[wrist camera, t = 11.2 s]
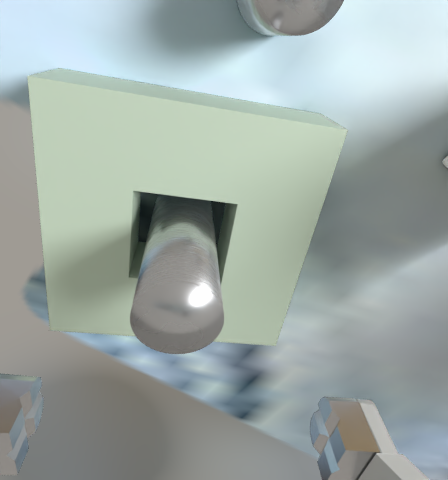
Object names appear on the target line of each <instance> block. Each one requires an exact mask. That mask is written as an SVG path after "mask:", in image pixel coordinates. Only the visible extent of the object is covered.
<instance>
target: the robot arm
mask: <svg viewBox="0 0 448 480" xmlns="http://www.w3.org/2000/svg"><path fill="white" fill-rule="evenodd" d="M41 386H42V382H41V377H32V376H21V375H10V374H0V475H18V473H19V471H20V468H21V466H22V463H23V461H24V459H25V456H26V454H27V452H28V449H29V446H28V438H29V437H30V436H31V435H33V434H34V433H35V432H36V430H37V427H38V425H39V423H40V420H41V415H42V412H43V405H44V398H43V395H42V394H41V393H40V392H39V391H40V389H41ZM318 405H319V408H320V410H318V411H316V412H315V413H314V414H313V416H312V418H311V423H310V434H311V440H312V444H313V447H314V448H315V449H316V450H317V451H318V452H319V453H320V456H319V458H318V461H317V462H318V466H319V470H320V473H321V477H322V480H429V479H428V478H427V477H426V476H425V475H424V474H423V473H422V472H421V471H420V470H419V469H418V468H417V467H416V466H415V465H414V464H413V463H412V462H410V461H409V460H408V459H407V458H406V457H405V456H404V455H403V454H398V452H397V450H396V448H395V446H394V444H393V442H392V439H391V437H390V435H389V433H388V431H387V429H386V427H385V425H384V423H383V420H382V418H381V416H380V414H379V412H378V410H377V408H376V406H375V404H374V403H373V402H372V401H371V400H364V399H353V398H337V397H323V398H321V400H320V402H319V403H318Z"/></svg>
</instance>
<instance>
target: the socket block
mask: <svg viewBox="0 0 448 480" xmlns="http://www.w3.org/2000/svg"><path fill="white" fill-rule="evenodd" d="M27 77H28V89H29V100H30V111H31V122H32V134H33V145H34V157H35V167H36V179H37V191H38V202H39V212H40V224H41V235H42V247H43V258H44V270H45V281H46V293H47V304H48V315H49V327H50V330H51V331H66V332H80V333H95V334H110V335H125V336H135V334H134V332H133V331H132V328H131V325H130V312H131V308H132V304H133V299H134V295H135V290H136V286H137V281H138V277H139V272H140V268H141V263H142V259H143V255H144V250H145V246H146V242H139V241H138V234H139V218H140V203H141V192H147V193H155V194H163V195H170V196H178V197H186V198H194V199H201V200H209V201H217V202H225V208H224V214H223V219H222V224H221V230H220V235H219V240H218V245H217V257H218V266H219V275H220V284H221V292H222V301H223V310H224V325H223V328H222V330H221V332H220V334H219V335H218V337H217V338H216V339H215V340H214V341H213V342H227V343H242V344H257V345H272V346H276V343H277V340H278V337H279V334H280V331H281V328H282V325H283V322H284V319H285V316H286V313H287V310H288V307H289V304H290V301H291V298H292V296H293V293H294V290H295V287H296V284H297V281H298V278H299V275H300V272H301V269H302V266H303V263H304V260H305V257H306V254H307V251H308V248H309V245H310V242H311V239H312V236H313V233H314V230H315V227H316V224H317V221H318V218H319V215H320V212H321V209H322V206H323V203H324V200H325V197H326V194H327V191H328V188H329V185H330V182H331V179H332V176H333V173H334V170H335V168H336V165H337V162H338V159H339V156H340V153H341V150H342V147H343V144H344V141H345V138H346V135H347V132H348V130H347V129H345V128H344V127H342V126H340V125H339V124H337V123H335V122H334V121H332V120H330V119H329V118H327V117H325V116H324V115H322V114H319V113H313V112H308V111H302V110H296V109H291V108H285V107H279V106H273V105H268V104H262V103H256V102H251V101H245V100H239V99H233V98H228V97H222V96H216V95H211V94H205V93H199V92H193V91H188V90H182V89H176V88H170V87H165V86H159V85H153V84H148V83H142V82H136V81H130V80H125V79H119V78H113V77H108V76H102V75H96V74H90V73H85V72H79V71H73V70H67V69H62V68H58V69H53V70H49V71H45V72H41V73H37V74H33V75H29V76H27Z"/></svg>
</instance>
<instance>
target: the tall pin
mask: <svg viewBox="0 0 448 480" xmlns="http://www.w3.org/2000/svg"><path fill="white" fill-rule="evenodd" d="M130 325H131V328H132V331H133V332H134V334H135V336H136V337H137V338H138V339H139V340H140V341H141V342H142V343H143V344H145V345H146V346H148V347H150V348H152V349H154V350H156V351H160V352H163V353H169V354H185V353H190V352H194V351H197V350H200V349H202V348H204V347H206V346H207V345H209V344H210V343H212V342H213V341H214V340H215V339H216V338H217V337H218V335H219V334H220V332H221V330H222V328H223V325H224V310H223V301H222V292H221V284H220V275H219V266H218V257H217V248H216V239H215V231H214V222H213V213H212V205H211V202H210V201H209V200H201V199H194V198H186V197H178V196H170V195H163V194H159V196H158V197H157V199H156V202H155V205H154V210H153V214H152V219H151V223H150V228H149V232H148V237H147V241H146V246H145V250H144V255H143V259H142V263H141V268H140V272H139V277H138V281H137V286H136V290H135V295H134V299H133V304H132V308H131V312H130Z"/></svg>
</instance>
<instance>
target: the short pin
mask: <svg viewBox="0 0 448 480" xmlns="http://www.w3.org/2000/svg"><path fill="white" fill-rule="evenodd" d="M343 1H344V0H237V3H238V8H239V10H240V13H241V15H242V17H243V19H244V20H245V22H246V23H247V24H248V25H249V26H250V27H251V28H252V29H253V30H255V31H256V32H258V33H260V34H263V35H269V36H296V35H305V34H309V33H312V32H314V31H316V30H318V29H320V28H321V27H323V26H324V25H325V24H327V23H328V22H329V21H330V20H331V19H332V18H333V17H334V15H335V14H336V13H337V11H338V10H339V8H340V7H341V5H342V3H343Z"/></svg>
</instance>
